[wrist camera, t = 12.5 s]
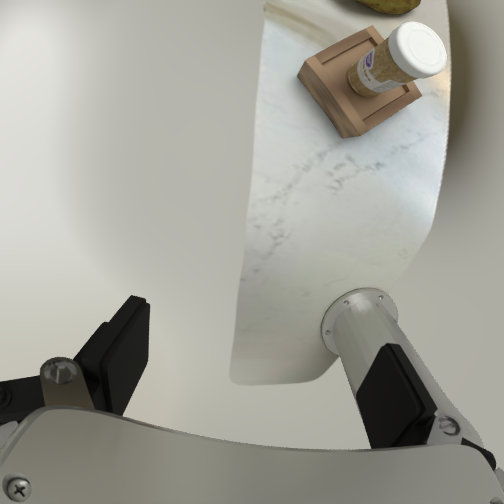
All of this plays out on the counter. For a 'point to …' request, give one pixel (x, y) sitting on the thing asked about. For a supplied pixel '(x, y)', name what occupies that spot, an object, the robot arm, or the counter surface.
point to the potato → (391, 5)
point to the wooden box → (343, 95)
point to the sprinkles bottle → (399, 60)
